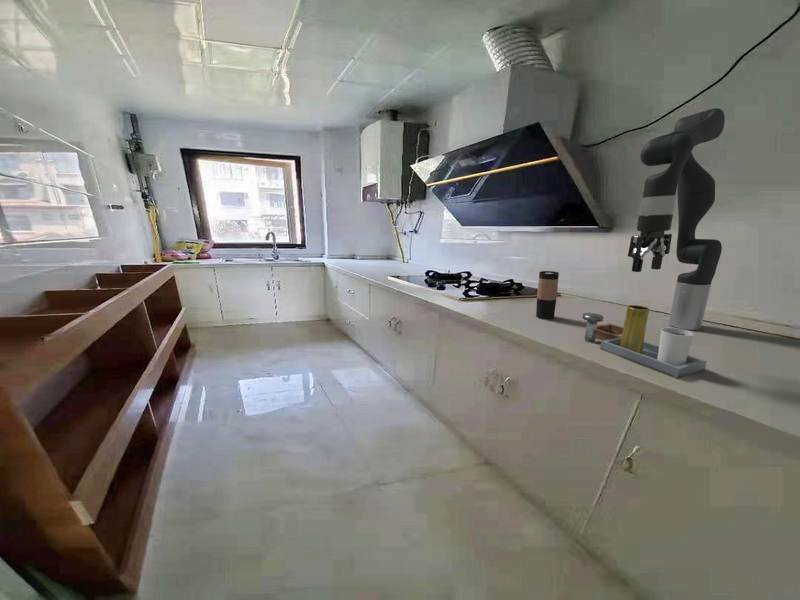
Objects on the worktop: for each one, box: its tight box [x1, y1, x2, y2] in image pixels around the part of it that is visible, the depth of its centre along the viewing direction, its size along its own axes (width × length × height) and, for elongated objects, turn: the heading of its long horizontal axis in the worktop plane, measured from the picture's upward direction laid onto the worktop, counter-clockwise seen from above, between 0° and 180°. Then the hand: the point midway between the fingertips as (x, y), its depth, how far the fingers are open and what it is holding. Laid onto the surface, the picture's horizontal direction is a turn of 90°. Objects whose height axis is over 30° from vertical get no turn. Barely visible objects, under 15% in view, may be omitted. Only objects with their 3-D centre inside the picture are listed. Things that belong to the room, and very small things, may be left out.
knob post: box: [582, 312, 604, 343], centre depth 103 cm, size 6×6×9 cm
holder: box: [595, 322, 624, 341], centre depth 106 cm, size 11×11×3 cm
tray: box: [599, 337, 708, 380], centre depth 89 cm, size 12×21×3 cm, turn 20°
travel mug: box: [535, 270, 560, 321], centre depth 129 cm, size 8×8×20 cm
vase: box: [620, 304, 650, 354], centre depth 92 cm, size 6×6×14 cm
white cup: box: [657, 326, 694, 366], centre depth 83 cm, size 7×7×10 cm
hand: (646, 270), depth 88 cm, fingers open, 8 cm apart
